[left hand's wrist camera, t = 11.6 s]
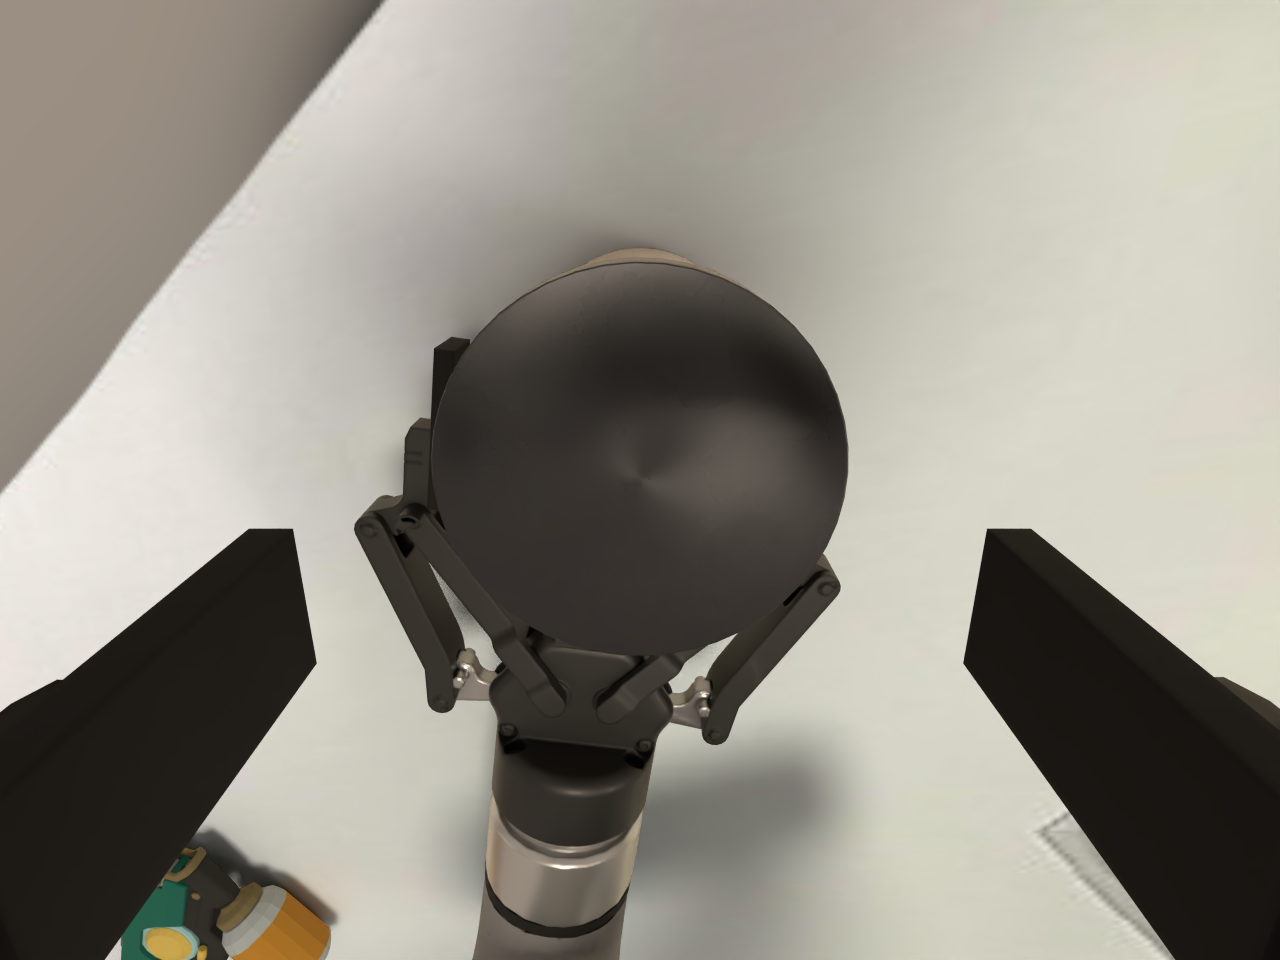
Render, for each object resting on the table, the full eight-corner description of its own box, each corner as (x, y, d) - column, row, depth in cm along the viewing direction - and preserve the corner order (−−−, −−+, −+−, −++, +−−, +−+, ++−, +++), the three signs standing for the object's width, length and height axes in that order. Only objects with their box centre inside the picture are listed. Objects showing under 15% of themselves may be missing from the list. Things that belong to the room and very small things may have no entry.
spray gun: (279, 1038, 52) (78, 947, 50) (379, 907, 47) (157, 797, 44) (245, 1108, 48) (26, 1013, 46) (350, 974, 43) (105, 857, 40)
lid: (517, 191, 18) (503, 189, 17) (898, 346, 20) (924, 359, 18) (406, 553, 22) (385, 584, 20) (737, 664, 23) (745, 703, 21)
